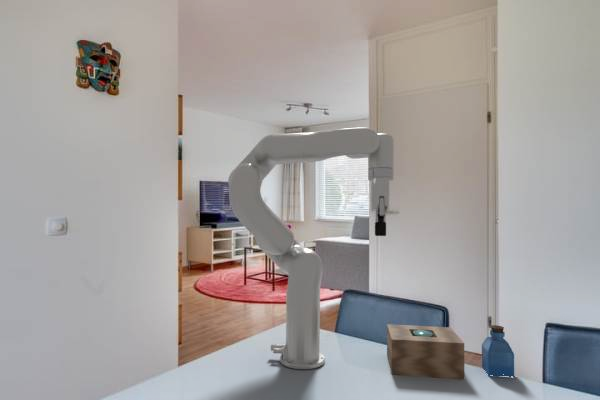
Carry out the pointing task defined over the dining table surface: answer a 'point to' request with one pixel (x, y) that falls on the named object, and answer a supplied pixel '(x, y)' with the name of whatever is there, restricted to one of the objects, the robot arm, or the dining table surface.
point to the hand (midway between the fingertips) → (380, 235)
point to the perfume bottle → (497, 354)
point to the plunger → (422, 333)
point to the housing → (425, 352)
